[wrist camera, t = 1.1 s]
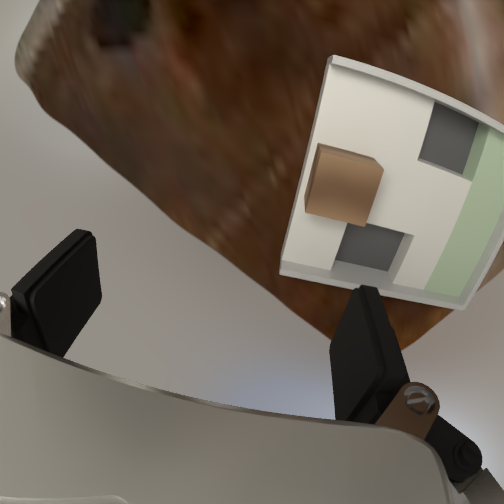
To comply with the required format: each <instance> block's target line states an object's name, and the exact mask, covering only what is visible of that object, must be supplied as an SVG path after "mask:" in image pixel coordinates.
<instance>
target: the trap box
mask: <svg viewBox="0 0 504 504" xmlns="http://www.w3.org/2000/svg"><path fill="white" fill-rule="evenodd" d="M317 143H321V144H325V145H329V146H333V147H337V148H341V149H344V150H348V151H352V152H355V153H359V154H362V155H366V156H369V157H372V158H374V159H375V160H376V161H377V162H378V163H379V164H380V165H381V166H382V167H383V169H384V172H383V175H382V178H381V181H380V184H379V187H378V190H377V193H376V196H375V199H374V202H373V205H372V208H371V211H370V214H369V216H368V219H367V222H366V225H365V227H363V226H359V225H355V224H351V223H346V222H342V221H338V220H334V219H330V218H326V217H321V216H317V215H313V214H309V213H305V204H304V194H305V191H306V187H307V183H308V179H309V175H310V171H311V167H312V163H313V159H314V155H315V151H316V147H317ZM503 240H504V125H503V124H501V123H499V122H497V121H496V120H494V119H492V118H490V117H489V116H487V115H485V114H483V113H481V112H479V111H478V110H476V109H474V108H472V107H470V106H468V105H466V104H464V103H462V102H460V101H458V100H456V99H454V98H451V97H449V96H447V95H445V94H443V93H441V92H438V91H436V90H434V89H432V88H429V87H427V86H424V85H422V84H420V83H417V82H415V81H412V80H410V79H407V78H404V77H402V76H399V75H396V74H394V73H391V72H388V71H385V70H382V69H380V68H377V67H374V66H370V65H367V64H364V63H361V62H358V61H354V60H351V59H348V58H344V57H340V56H337V55H332V56H330V57H329V58H328V60H327V64H326V69H325V73H324V78H323V82H322V87H321V91H320V96H319V100H318V105H317V109H316V113H315V118H314V122H313V126H312V130H311V135H310V139H309V143H308V147H307V151H306V156H305V160H304V164H303V168H302V172H301V176H300V180H299V184H298V188H297V192H296V196H295V200H294V204H293V208H292V212H291V216H290V220H289V224H288V228H287V232H286V235H285V239H284V243H283V247H282V251H281V259H280V271H279V274H280V275H285V276H289V277H294V278H299V279H304V280H309V281H313V282H318V283H323V284H328V285H333V286H338V287H343V288H348V289H353V290H354V288H359V287H360V285H368V286H373V287H377V288H378V291H379V293H380V295H383V296H388V297H393V298H398V299H403V300H408V301H413V302H419V303H424V304H429V305H434V306H440V307H445V308H450V309H455V310H461V311H465V309H466V308H467V306H468V304H469V303H470V301H471V299H472V298H473V296H474V295H475V293H476V291H477V289H478V288H479V286H480V284H481V282H482V281H483V279H484V277H485V275H486V273H487V272H488V270H489V268H490V266H491V264H492V262H493V260H494V258H495V256H496V255H497V253H498V251H499V249H500V247H501V244H502V242H503Z"/></svg>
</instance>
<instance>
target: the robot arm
mask: <svg viewBox="0 0 504 504" xmlns="http://www.w3.org/2000/svg"><path fill="white" fill-rule="evenodd" d="M11 291H12V294H13V295H12V296H11V297H10V298H9V297H8V295H7V294H5V293H3V292H0V504H504V490H503V489H502V488H501V487H500V485H499V484H498V482H497V481H496V480H495V478H494V477H493V476H492V474H491V473H490V472H489V470H488V469H487V468H485V469H484V470H483V469H482V468H481V465H482V454H481V451H480V449H479V448H478V446H477V445H476V444H475V443H474V442H473V441H472V440H470V439H469V438H468V437H466V436H465V435H464V434H463V433H461V432H460V431H459V430H457V429H456V428H455V427H453V426H452V425H451V424H449V423H448V422H447V421H446V420H444V419H443V418H442V417H440V416H439V415H438V412H439V408H440V405H439V400H438V397H437V395H436V394H435V393H434V391H433V390H432V389H430V388H429V387H428V386H426V385H424V384H422V383H419V382H410V379H409V376H408V373H407V369H406V366H405V363H404V359H403V357H402V353H401V350H400V347H399V344H398V341H397V338H396V335H395V332H394V329H393V328H392V327H391V324H390V322H389V319H388V316H387V313H386V310H385V307H384V304H383V302H382V299H381V296H380V293H379V291H378V288H377V287H373V286H368V285H360V287H359V288H354V290H353V292H352V295H351V297H350V299H349V302H348V304H347V307H346V309H345V311H344V314H343V316H342V318H341V321H340V323H339V325H338V328H337V330H336V332H335V334H334V337H333V339H332V341H331V344H330V350H329V353H330V362H331V372H332V382H333V394H334V406H335V418H336V420H331V419H321V418H312V417H303V416H296V415H288V414H281V413H273V412H267V411H260V410H254V409H248V408H242V407H237V406H232V405H226V404H221V403H216V402H212V401H207V400H202V399H198V398H193V397H189V396H185V395H181V394H177V393H173V392H169V391H165V390H161V389H157V388H154V387H150V386H146V385H143V384H139V383H136V382H132V381H129V380H126V379H123V378H120V377H116V376H113V375H110V374H107V373H104V372H101V371H98V370H95V369H92V368H89V367H86V366H83V365H81V364H78V363H75V362H73V361H70V360H67V359H65V358H63V357H64V355H65V354H66V352H67V351H68V349H69V348H70V346H71V345H72V343H73V342H74V340H75V339H76V337H77V336H78V334H79V333H80V331H81V330H82V328H83V327H84V325H85V324H86V323H87V321H88V320H89V318H90V317H91V315H92V314H93V313H94V311H95V310H96V308H97V307H98V305H99V304H100V302H101V299H102V292H101V285H100V277H99V269H98V259H97V248H96V239H95V237H94V236H93V235H92V233H91V232H90V231H86V230H81V229H76V230H74V231H73V232H72V233H71V234H70V235H68V236H67V237H66V238H65V239H64V240H63V241H62V242H60V243H59V244H58V245H57V246H56V247H55V248H54V249H53V250H51V251H50V252H49V253H48V254H47V255H46V256H45V257H44V258H43V259H42V260H41V261H39V262H38V263H37V264H36V265H35V266H34V267H33V268H32V269H31V270H30V271H29V272H28V273H27V274H26V275H25V276H24V277H23V278H22V279H21V280H20V281H19V282H18V283H17V284H16V285H15V286H14V287H13V288H12V289H11Z"/></svg>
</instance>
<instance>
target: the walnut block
mask: <svg viewBox="0 0 504 504" xmlns="http://www.w3.org/2000/svg"><path fill="white" fill-rule="evenodd" d="M383 172H384V169H383V167H382V166H381V165H380V164H379V163H378V162H377V161H376V160H375V159H374V158H372V157H369V156H366V155H362V154H359V153H355V152H352V151H348V150H344V149H341V148H337V147H333V146H329V145H325V144H321V143H317V147H316V151H315V155H314V159H313V163H312V167H311V171H310V175H309V179H308V183H307V187H306V191H305V194H304V204H305V213H309V214H313V215H317V216H321V217H326V218H330V219H334V220H338V221H342V222H346V223H351V224H355V225H359V226H363V227H365V225H366V222H367V219H368V216H369V214H370V211H371V208H372V205H373V202H374V199H375V196H376V193H377V190H378V187H379V184H380V181H381V178H382V175H383Z"/></svg>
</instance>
